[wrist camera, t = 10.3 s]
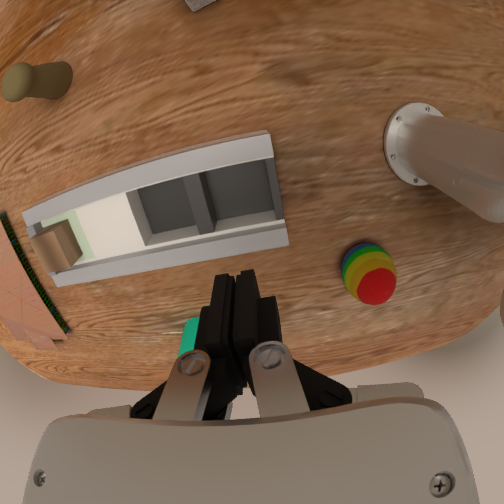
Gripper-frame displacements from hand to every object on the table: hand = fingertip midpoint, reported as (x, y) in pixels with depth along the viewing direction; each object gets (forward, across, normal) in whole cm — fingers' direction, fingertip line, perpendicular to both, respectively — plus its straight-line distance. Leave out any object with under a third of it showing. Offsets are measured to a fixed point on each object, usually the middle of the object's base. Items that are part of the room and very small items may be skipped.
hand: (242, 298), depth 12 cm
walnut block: (+23, +30, +3) cm, 37 cm away
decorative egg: (+27, -15, +18) cm, 36 cm away
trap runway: (+27, +16, +3) cm, 31 cm away
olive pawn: (+27, +24, -21) cm, 42 cm away
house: (+27, +56, +11) cm, 63 cm away
